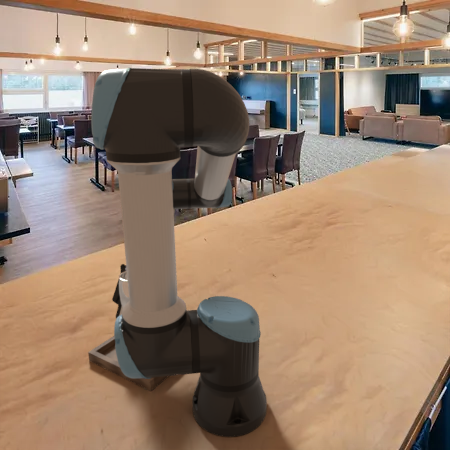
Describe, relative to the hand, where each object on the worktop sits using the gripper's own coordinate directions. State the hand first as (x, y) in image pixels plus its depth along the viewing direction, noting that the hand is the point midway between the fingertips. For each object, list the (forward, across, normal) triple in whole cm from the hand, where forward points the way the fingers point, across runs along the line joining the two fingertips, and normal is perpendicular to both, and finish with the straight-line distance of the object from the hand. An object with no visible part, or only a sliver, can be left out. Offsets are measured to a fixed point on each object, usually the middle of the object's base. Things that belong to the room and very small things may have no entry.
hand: (131, 334), depth 92 cm
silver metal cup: (-2, 0, -4) cm, 4 cm away
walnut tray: (+2, -2, -9) cm, 9 cm away
